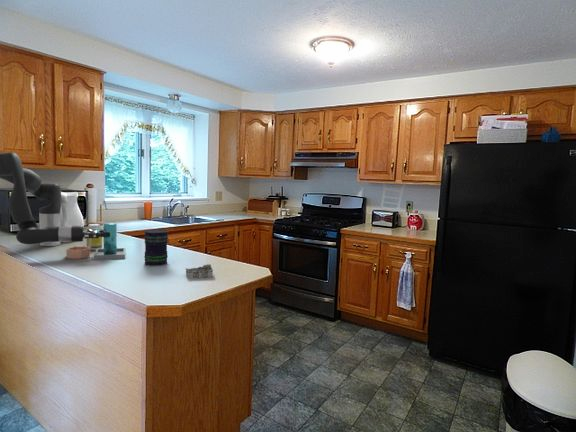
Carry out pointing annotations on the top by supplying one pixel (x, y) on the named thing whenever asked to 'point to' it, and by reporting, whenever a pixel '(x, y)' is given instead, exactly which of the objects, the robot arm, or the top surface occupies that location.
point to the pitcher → (70, 210)
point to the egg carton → (200, 272)
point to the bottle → (110, 239)
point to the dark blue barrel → (156, 247)
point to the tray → (100, 255)
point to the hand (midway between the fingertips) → (110, 233)
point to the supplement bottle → (94, 239)
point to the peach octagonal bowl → (78, 252)
